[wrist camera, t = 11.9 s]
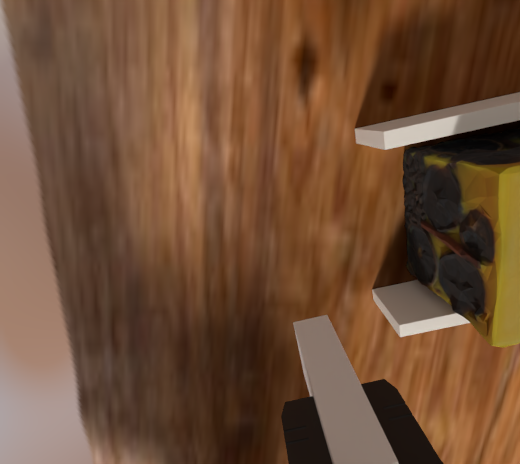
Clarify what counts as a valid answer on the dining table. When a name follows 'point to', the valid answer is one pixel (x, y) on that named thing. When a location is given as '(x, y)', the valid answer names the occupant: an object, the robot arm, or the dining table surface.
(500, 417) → the dining table surface
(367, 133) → the frame
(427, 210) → the candle
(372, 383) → the robot arm
